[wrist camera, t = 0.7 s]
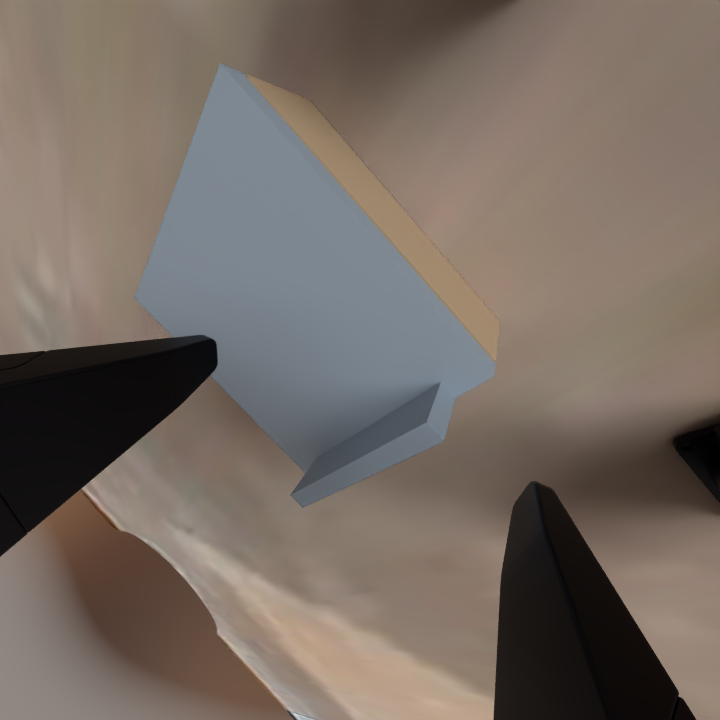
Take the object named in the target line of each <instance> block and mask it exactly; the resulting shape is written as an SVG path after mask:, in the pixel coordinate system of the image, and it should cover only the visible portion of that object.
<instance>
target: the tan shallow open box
mask: <svg viewBox="0 0 720 720" xmlns="http://www.w3.org/2000/svg"><path fill="white" fill-rule="evenodd" d="M246 77H247V79H248V80H249V81H250V82H251V83H252V84H253V85H254V87H255V88H256V89H257V90H258V91H259V92H260V94H261V95H262V96H263V97H264V98H265V99H266V100H267V102H268V103H269V104H270V105H271V106H272V107H273V108H274V110H275V111H276V112H277V113H278V114H279V115H280V117H281V118H282V119H283V120H284V121H285V122H286V123H287V125H288V126H289V127H290V128H291V129H292V130H293V131H294V133H295V134H296V135H297V136H298V137H299V138H300V139H301V141H302V142H303V143H304V144H305V145H306V146H307V148H308V149H309V150H310V151H311V152H312V153H313V154H314V156H315V157H316V158H317V159H318V160H319V161H320V162H321V164H322V165H323V166H324V167H325V168H326V169H327V170H328V172H329V173H330V174H331V175H332V176H333V177H334V179H335V180H336V181H337V182H338V183H339V184H340V185H341V187H342V188H343V189H344V190H345V191H346V192H347V193H348V195H349V196H350V197H351V198H352V199H353V200H354V202H355V203H356V204H357V205H358V206H359V207H360V208H361V210H362V211H363V212H364V213H365V214H366V215H367V216H368V218H369V219H370V220H371V221H372V222H373V223H374V224H375V226H376V227H377V228H378V229H379V230H380V231H381V233H382V234H383V235H384V236H385V237H386V238H387V239H388V241H389V242H390V243H391V244H392V245H393V246H394V247H395V249H396V250H397V251H398V252H399V253H400V254H401V255H402V257H403V258H404V259H405V260H406V261H407V262H408V264H409V265H410V266H411V267H412V268H413V269H414V270H415V272H416V273H417V274H418V275H419V276H420V277H421V278H422V280H423V281H424V282H425V283H426V284H427V285H428V287H429V288H430V289H431V290H432V291H433V292H434V293H435V295H436V296H437V297H438V298H439V299H440V300H441V301H442V303H443V304H444V305H445V306H446V307H447V308H448V309H449V311H450V312H451V313H452V314H453V315H454V316H455V318H456V319H457V320H458V321H459V322H460V323H461V324H462V326H463V327H464V328H465V329H466V330H467V331H468V332H469V334H470V335H471V336H472V337H473V338H474V339H475V340H476V342H477V343H478V344H479V345H480V346H481V347H482V349H483V350H484V351H485V352H486V353H487V354H488V355H489V357H490V358H491V359H492V360H493V361H496V354H497V344H498V333H499V323H500V322H499V321H498V320H497V318H496V317H495V316H494V315H493V314H492V313H491V311H490V310H489V309H488V308H487V307H486V306H485V304H484V303H483V302H482V301H481V300H480V299H479V297H478V296H477V295H476V294H475V293H474V292H473V290H472V289H471V288H470V287H469V286H468V285H467V283H466V282H465V281H464V280H463V279H462V278H461V276H460V275H459V274H458V273H457V272H456V271H455V269H454V268H453V267H452V266H451V265H450V264H449V262H448V261H447V260H446V259H445V258H444V257H443V255H442V254H441V253H440V252H439V251H438V250H437V248H436V247H435V246H434V245H433V244H432V243H431V241H430V240H429V239H428V238H427V237H426V236H425V234H424V233H423V232H422V231H421V230H420V229H419V227H418V226H417V225H416V224H415V223H414V222H413V220H412V219H411V218H410V217H409V216H408V215H407V213H406V212H405V211H404V210H403V209H402V208H401V206H400V205H399V204H398V203H397V202H396V201H395V199H394V198H393V197H392V196H391V195H390V194H389V192H388V191H387V190H386V189H385V188H384V187H383V185H382V184H381V183H380V182H379V181H378V180H377V178H376V177H375V176H374V175H373V174H372V173H371V171H370V170H369V169H368V168H367V167H366V166H365V164H364V163H363V162H362V161H361V160H360V159H359V157H358V156H357V155H356V154H355V153H354V152H353V150H352V149H351V148H350V147H349V146H348V145H347V143H346V142H345V141H344V140H343V139H342V138H341V136H340V135H339V134H338V133H337V132H336V131H335V129H334V128H333V127H332V126H331V125H330V124H329V122H328V121H327V120H326V119H325V118H324V117H323V115H322V114H321V113H320V112H319V111H318V110H317V108H316V107H315V106H314V105H313V104H312V103H311V101H310V100H309V99H306V98H304V97H301V96H299V95H296V94H294V93H291V92H289V91H287V90H284V89H282V88H279V87H277V86H274V85H272V84H269V83H267V82H265V81H262V80H260V79H257V78H255V77H252V76H250V75H248V74H247V75H246Z"/></svg>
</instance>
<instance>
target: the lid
mask: <svg viewBox="0 0 720 720" xmlns="http://www.w3.org/2000/svg"><path fill="white" fill-rule="evenodd" d="M135 299H136V300H137V301H138V302H139V303H140V304H141V305H142V306H143V307H144V308H145V309H146V310H147V311H148V312H149V313H150V314H151V315H152V316H153V317H154V318H155V320H156V321H157V322H158V323H159V324H160V325H161V326H162V327H163V328H164V329H165V330H166V331H167V332H168V333H169V334H170V335H171V336H172V337H173V338H174V337H183V336H193V335H205V336H208V337H210V338H212V339H214V340H215V341H216V343H217V355H218V365H217V368H216V369H215V371H214V372H213V373H212V374H211V375H210V376H211V377H212V378H213V379H214V380H215V381H216V382H217V383H218V384H219V385H220V386H221V387H222V388H223V389H224V390H225V391H226V392H227V393H228V394H229V395H230V396H231V397H232V398H233V400H234V401H235V402H236V403H237V404H238V405H239V406H240V407H241V408H242V409H243V410H244V411H245V412H246V413H247V414H248V415H249V416H250V417H251V418H252V419H253V420H254V421H255V422H256V423H257V424H258V425H259V426H260V427H261V428H262V429H263V430H264V431H265V432H266V433H267V434H268V435H269V436H270V437H271V438H272V440H273V441H274V442H275V443H276V444H277V445H278V446H279V447H280V448H281V449H282V450H283V451H284V452H285V453H286V454H287V455H288V456H289V457H290V458H291V459H292V460H293V461H294V462H295V463H296V464H297V465H298V466H299V467H300V468H301V469H302V470H303V471H304V472H305V473H306V474H305V475H304V477H303V478H302V479H301V481H300V482H299V484H298V485H297V486H296V488H295V489H294V491H293V492H292V493H291V496H292V497H293V498H294V499H295V500H296V501H297V502H298V503H299V505H300V506H301V507H302V508H303V507H305V506H308V505H310V504H312V503H314V502H316V501H318V500H320V499H322V498H325V497H327V496H329V495H331V494H333V493H335V492H337V491H339V490H342V489H344V488H346V487H348V486H350V485H352V484H354V483H357V482H359V481H361V480H363V479H365V478H367V477H369V476H371V475H374V474H376V473H378V472H380V471H382V470H384V469H386V468H388V467H391V466H393V465H395V464H397V463H399V462H401V461H403V460H405V459H408V458H410V457H412V456H414V455H416V454H418V453H420V452H422V451H425V450H427V449H429V448H431V447H433V446H435V445H437V444H440V443H442V442H444V440H445V436H446V432H447V428H448V425H449V421H450V417H451V413H452V410H453V406H454V402H455V398H457V397H459V396H460V395H462V394H464V393H466V392H468V391H469V390H471V389H473V388H475V387H477V386H478V385H480V384H482V383H484V382H486V381H487V380H489V379H491V378H493V377H494V375H495V365H496V363H495V362H494V361H493V360H492V359H491V358H490V357H489V355H488V354H487V353H486V352H485V351H484V350H483V349H482V347H481V346H480V345H479V344H478V343H477V342H476V340H475V339H474V338H473V337H472V336H471V335H470V334H469V332H468V331H467V330H466V329H465V328H464V327H463V326H462V324H461V323H460V322H459V321H458V320H457V319H456V318H455V316H454V315H453V314H452V313H451V312H450V311H449V309H448V308H447V307H446V306H445V305H444V304H443V303H442V301H441V300H440V299H439V298H438V297H437V296H436V295H435V293H434V292H433V291H432V290H431V289H430V288H429V287H428V285H427V284H426V283H425V282H424V281H423V280H422V278H421V277H420V276H419V275H418V274H417V273H416V272H415V270H414V269H413V268H412V267H411V266H410V265H409V264H408V262H407V261H406V260H405V259H404V258H403V257H402V255H401V254H400V253H399V252H398V251H397V250H396V249H395V247H394V246H393V245H392V244H391V243H390V242H389V241H388V239H387V238H386V237H385V236H384V235H383V234H382V233H381V231H380V230H379V229H378V228H377V227H376V226H375V224H374V223H373V222H372V221H371V220H370V219H369V218H368V216H367V215H366V214H365V213H364V212H363V211H362V210H361V208H360V207H359V206H358V205H357V204H356V203H355V202H354V200H353V199H352V198H351V197H350V196H349V195H348V193H347V192H346V191H345V190H344V189H343V188H342V187H341V185H340V184H339V183H338V182H337V181H336V180H335V179H334V177H333V176H332V175H331V174H330V173H329V172H328V170H327V169H326V168H325V167H324V166H323V165H322V164H321V162H320V161H319V160H318V159H317V158H316V157H315V156H314V154H313V153H312V152H311V151H310V150H309V149H308V148H307V146H306V145H305V144H304V143H303V142H302V141H301V139H300V138H299V137H298V136H297V135H296V134H295V133H294V131H293V130H292V129H291V128H290V127H289V126H288V125H287V123H286V122H285V121H284V120H283V119H282V118H281V117H280V115H279V114H278V113H277V112H276V111H275V110H274V108H273V107H272V106H271V105H270V104H269V103H268V102H267V100H266V99H265V98H264V97H263V96H262V95H261V94H260V92H259V91H258V90H257V89H256V88H255V87H254V85H253V84H252V83H251V82H250V81H249V80H248V79H247V77H246V76H245V75H244V74H243V73H242V72H240V71H238V70H235V69H233V68H230V67H228V66H226V65H223V64H221V63H220V65H219V68H218V70H217V73H216V76H215V79H214V81H213V84H212V87H211V89H210V92H209V95H208V98H207V100H206V103H205V106H204V109H203V111H202V114H201V117H200V120H199V122H198V125H197V128H196V131H195V133H194V136H193V139H192V142H191V144H190V147H189V150H188V153H187V155H186V158H185V161H184V164H183V166H182V169H181V172H180V175H179V177H178V180H177V183H176V186H175V188H174V191H173V194H172V197H171V199H170V202H169V205H168V208H167V210H166V213H165V216H164V219H163V221H162V224H161V227H160V230H159V232H158V235H157V238H156V241H155V243H154V246H153V249H152V252H151V254H150V257H149V260H148V263H147V265H146V268H145V271H144V274H143V276H142V279H141V282H140V285H139V287H138V290H137V293H136V296H135Z"/></svg>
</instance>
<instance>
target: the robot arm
mask: <svg viewBox="0 0 720 720" xmlns="http://www.w3.org/2000/svg"><path fill="white" fill-rule="evenodd" d="M217 365H218V355H217V343H216V341H215V340H214V339H212V338H210V337H208V336H205V335H193V336H183V337H174V338H164V339H155V340H145V341H135V342H126V343H116V344H106V345H97V346H87V347H77V348H68V349H58V350H49V351H47V352H46V351H38V352H29V353H18V354H8V355H0V557H1V555H3V554H4V553H5V552H7V551H8V550H9V549H10V548H11V547H12V546H14V545H15V544H16V543H17V542H18V541H20V540H21V539H22V538H23V537H24V536H26V535H27V532H30V531H31V530H32V529H34V528H35V527H36V526H37V525H38V524H40V523H41V522H42V521H43V520H44V519H45V518H47V517H48V516H49V515H50V514H51V513H53V512H54V511H55V510H56V509H57V508H58V507H60V506H61V505H62V504H63V503H65V502H66V501H67V500H68V499H69V498H71V497H72V496H73V495H74V494H75V493H76V492H78V491H79V490H80V489H81V488H82V487H84V486H85V485H86V484H87V483H88V482H90V481H91V480H92V479H93V478H94V477H96V476H97V475H98V474H99V473H100V472H102V471H103V470H104V469H105V468H106V467H108V466H109V465H110V464H111V463H112V462H113V461H115V460H116V459H117V458H118V457H119V456H121V455H122V454H123V453H124V452H125V451H127V450H128V449H129V448H130V447H131V446H133V445H134V444H135V443H136V442H137V441H139V440H140V439H141V438H142V437H143V436H145V435H146V434H147V433H148V432H149V431H150V430H152V429H153V428H154V427H155V426H156V425H158V424H159V423H160V422H161V421H162V420H164V419H165V418H166V417H167V416H168V415H170V414H171V413H172V412H173V411H174V410H175V409H177V408H178V407H179V406H180V405H181V404H182V403H183V402H184V401H185V400H186V399H187V398H188V397H189V396H190V395H191V394H192V393H193V392H194V391H195V390H196V389H197V388H198V387H199V386H200V385H201V384H202V383H203V382H204V381H205V380H206V379H207V378H208V377H209V376H210V375H211V374H212V373H213V372H214V371H215V369H216V368H217ZM672 444H673V446H674V448H675V449H676V451H677V452H678V453H679V455H680V456H681V457H682V458H683V459H684V461H685V462H686V463H687V464H688V465H689V467H690V468H691V469H692V470H693V471H694V473H695V474H696V475H697V476H698V477H699V479H700V480H701V481H702V482H703V483H704V485H705V486H706V487H707V488H708V489H709V491H710V492H711V493H712V494H713V495H714V497H715V498H716V499H717V500H718V501H719V503H720V424H716V425H713V426H710V427H707V428H704V429H700V430H697V431H694V432H691V433H688V434H684V435H681V436H678V437H676V438H675V439H674V440H673V442H672ZM684 444H690V445H689V446H685V447H684V446H682V445H684ZM678 695H679V692H678V690H677V688H676V687H675V685H674V683H673V682H672V680H671V679H670V677H669V675H668V674H667V672H666V671H665V669H664V667H663V666H662V664H661V662H660V661H659V659H658V658H657V656H656V654H655V653H654V651H653V650H652V648H651V646H650V645H649V643H648V642H647V640H646V638H645V637H644V635H643V633H642V632H641V630H640V629H639V627H638V625H637V624H636V622H635V621H634V619H633V617H632V616H631V614H630V613H629V611H628V609H627V608H626V606H625V604H624V603H623V601H622V600H621V598H620V596H619V595H618V593H617V592H616V590H615V588H614V587H613V585H612V584H611V582H610V580H609V579H608V577H607V575H606V574H605V572H604V571H603V569H602V567H601V566H600V564H599V563H598V561H597V559H596V558H595V556H594V555H593V553H592V551H591V550H590V548H589V546H588V545H587V543H586V542H585V540H584V538H583V537H582V535H581V534H580V532H579V530H578V529H577V527H576V525H575V524H574V522H573V521H572V519H571V517H570V516H569V514H568V513H567V511H566V509H565V508H564V506H563V505H562V503H561V501H560V500H559V498H558V496H557V495H556V493H555V492H554V490H553V489H551V488H550V487H548V486H545V485H543V484H541V483H539V482H536V481H532V482H530V483H529V484H528V486H527V487H526V488H525V490H524V491H523V492H522V494H521V495H520V496H519V498H518V499H517V501H516V502H515V504H514V507H513V510H512V515H511V521H510V526H509V532H508V538H507V544H506V549H505V555H504V561H503V567H502V574H501V585H500V604H499V623H498V643H497V662H496V682H495V701H494V720H696V719H695V717H694V715H693V714H692V712H691V710H690V709H689V707H688V706H687V704H686V702H685V701H684V700H683V699H682V698H681V697H678Z"/></svg>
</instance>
